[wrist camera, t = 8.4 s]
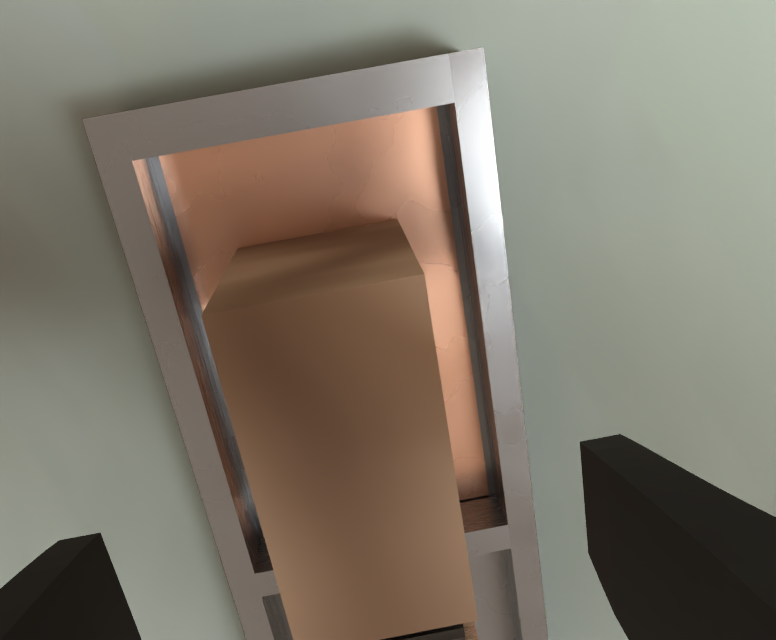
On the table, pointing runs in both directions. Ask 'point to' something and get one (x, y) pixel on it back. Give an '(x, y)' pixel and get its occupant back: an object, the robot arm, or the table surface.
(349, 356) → the block
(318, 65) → the table surface
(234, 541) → the grey rectangular tray piece
